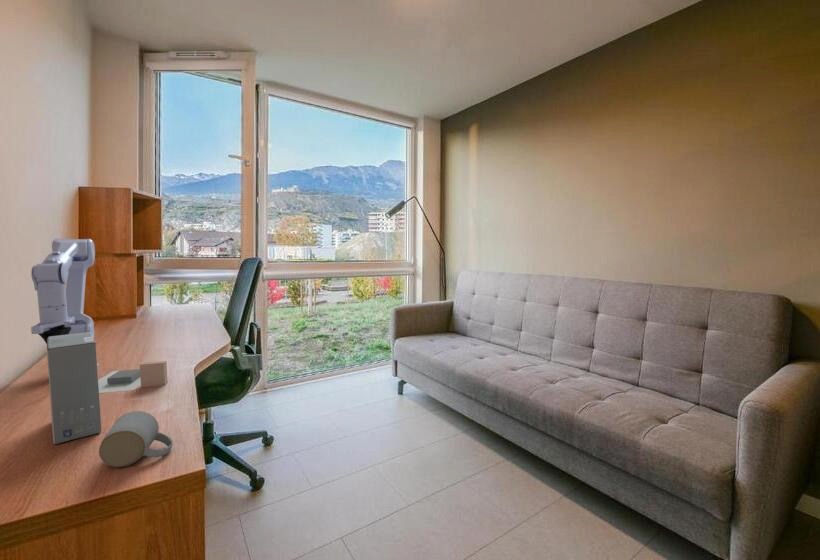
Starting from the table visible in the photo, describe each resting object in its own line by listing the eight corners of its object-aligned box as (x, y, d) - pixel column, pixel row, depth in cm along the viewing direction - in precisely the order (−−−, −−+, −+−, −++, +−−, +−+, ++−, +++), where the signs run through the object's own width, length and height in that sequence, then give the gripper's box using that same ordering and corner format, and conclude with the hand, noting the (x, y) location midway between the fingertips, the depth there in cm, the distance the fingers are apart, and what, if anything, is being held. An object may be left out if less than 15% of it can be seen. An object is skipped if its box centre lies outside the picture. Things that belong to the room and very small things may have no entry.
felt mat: (112, 372, 118) (112, 371, 118) (162, 368, 122) (162, 367, 122) (73, 396, 99) (73, 395, 99) (133, 391, 102) (133, 390, 102)
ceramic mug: (96, 474, 65) (94, 432, 64) (114, 450, 73) (112, 412, 72) (167, 462, 69) (165, 422, 68) (177, 441, 76) (175, 405, 76)
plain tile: (144, 386, 106) (142, 362, 106) (167, 384, 108) (166, 360, 107) (141, 388, 105) (139, 364, 104) (165, 386, 106) (163, 362, 105)
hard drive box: (102, 433, 79) (95, 342, 78) (53, 446, 74) (44, 349, 72) (96, 410, 91) (90, 330, 89) (53, 420, 85) (45, 335, 84)
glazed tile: (119, 370, 113) (107, 378, 106) (142, 369, 114) (131, 376, 107) (120, 377, 113) (107, 385, 106) (142, 375, 114) (131, 383, 108)
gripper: (52, 309, 98) (56, 359, 99) (85, 301, 112) (88, 345, 113) (19, 310, 96) (24, 361, 97) (57, 302, 110) (61, 347, 111)
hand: (57, 353), depth 105 cm, fingers closed
